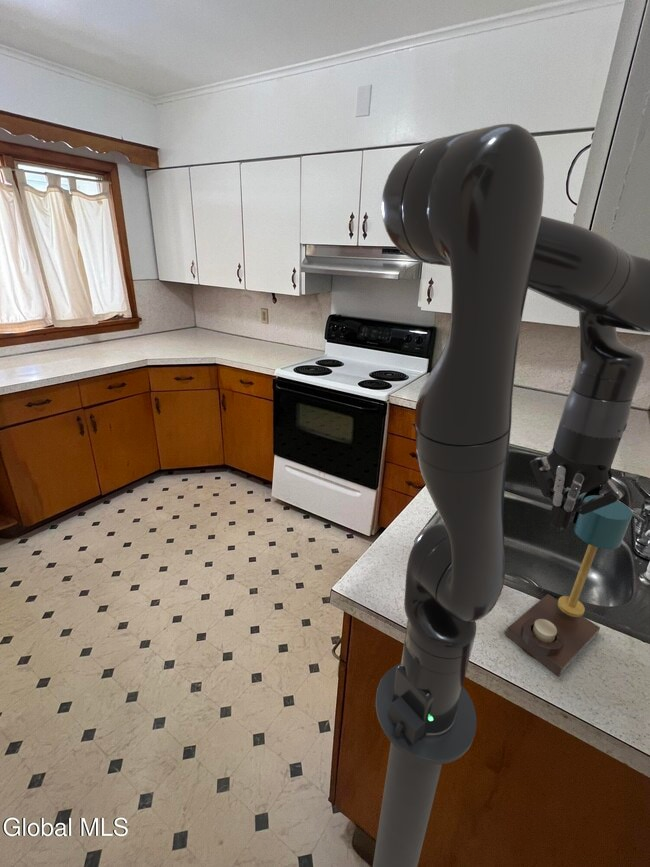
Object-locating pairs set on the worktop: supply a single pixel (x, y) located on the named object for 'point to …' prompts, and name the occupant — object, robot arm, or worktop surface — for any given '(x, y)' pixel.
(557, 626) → the lamp base
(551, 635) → the lamp switch
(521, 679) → the worktop surface
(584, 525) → the lamp
